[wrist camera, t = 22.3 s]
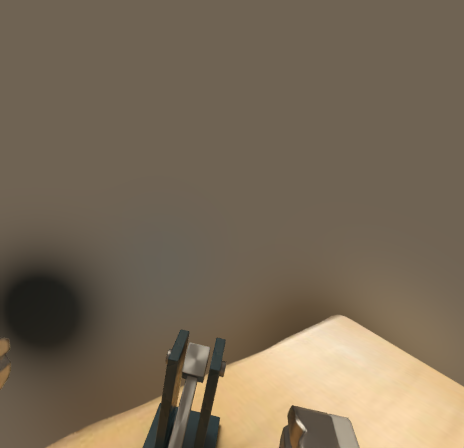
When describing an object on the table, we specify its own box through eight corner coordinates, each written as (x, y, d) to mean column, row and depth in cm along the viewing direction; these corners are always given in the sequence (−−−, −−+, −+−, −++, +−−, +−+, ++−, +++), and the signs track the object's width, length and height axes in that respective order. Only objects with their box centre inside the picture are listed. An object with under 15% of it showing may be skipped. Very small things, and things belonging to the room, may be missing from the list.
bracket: (205, 510, 28) (234, 396, 23) (127, 491, 28) (142, 374, 24) (218, 424, 36) (240, 329, 32) (159, 409, 36) (173, 313, 32)
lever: (194, 497, 23) (194, 499, 21) (135, 482, 23) (131, 483, 21) (221, 357, 30) (223, 350, 28) (177, 347, 30) (176, 339, 28)
